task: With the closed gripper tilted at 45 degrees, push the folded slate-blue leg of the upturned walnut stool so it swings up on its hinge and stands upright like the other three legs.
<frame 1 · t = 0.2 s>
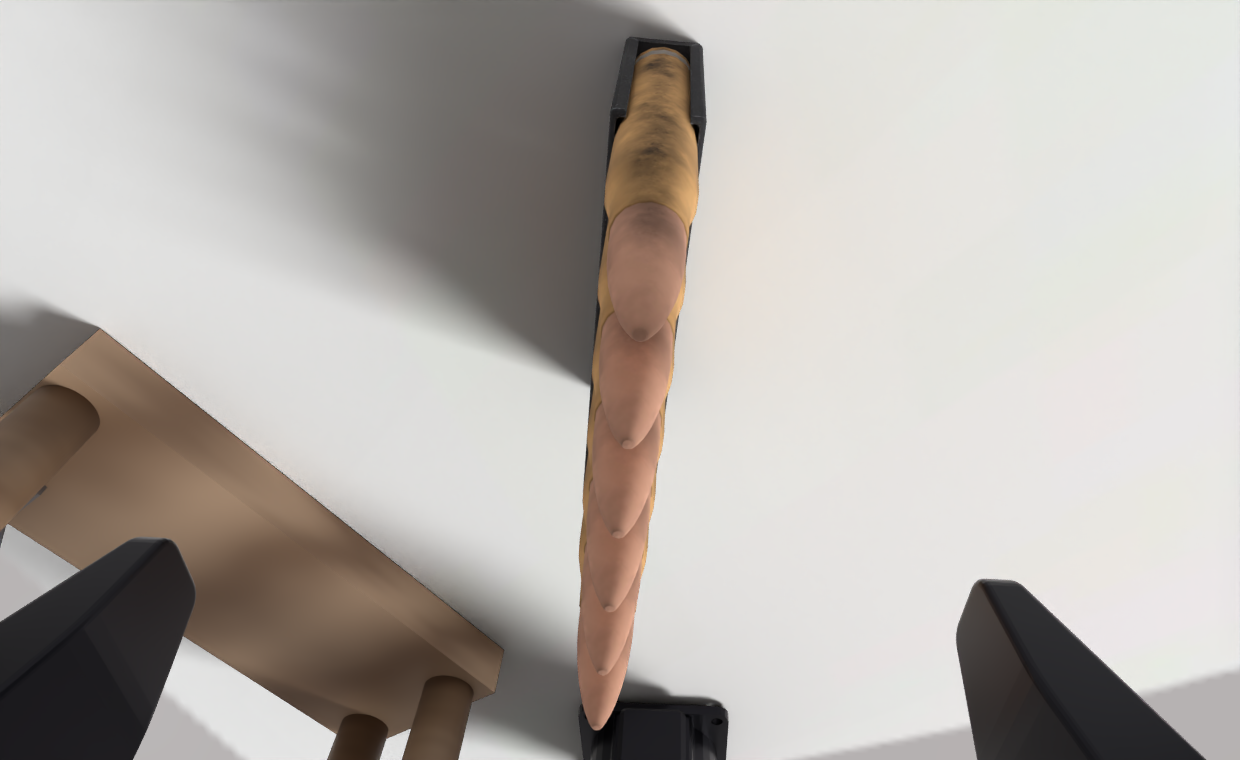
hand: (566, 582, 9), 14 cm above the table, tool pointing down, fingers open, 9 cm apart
ammunition clip: (643, 238, 22), on the table
stool: (262, 553, 31), on the table
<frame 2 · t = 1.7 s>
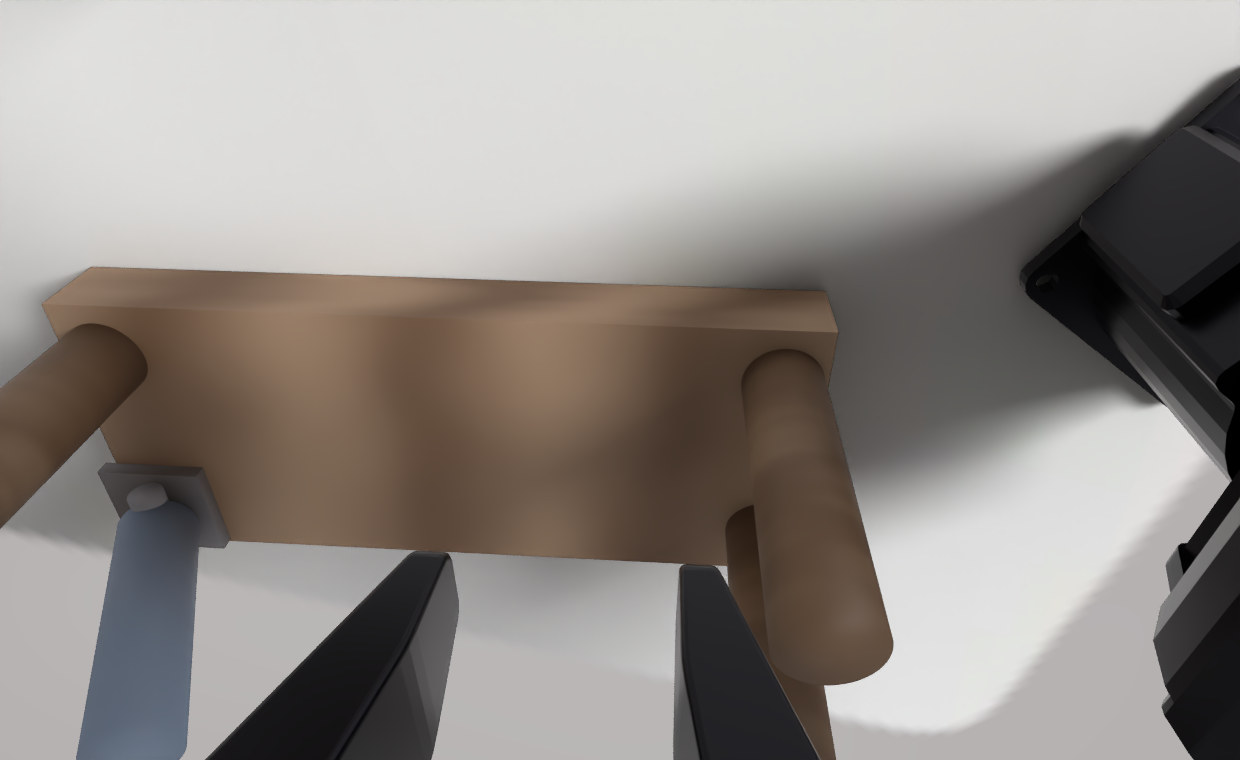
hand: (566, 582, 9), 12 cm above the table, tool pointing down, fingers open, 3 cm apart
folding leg: (149, 616, 20), point 6 cm above the table, hinge at -25.0°
stool: (466, 403, 23), on the table
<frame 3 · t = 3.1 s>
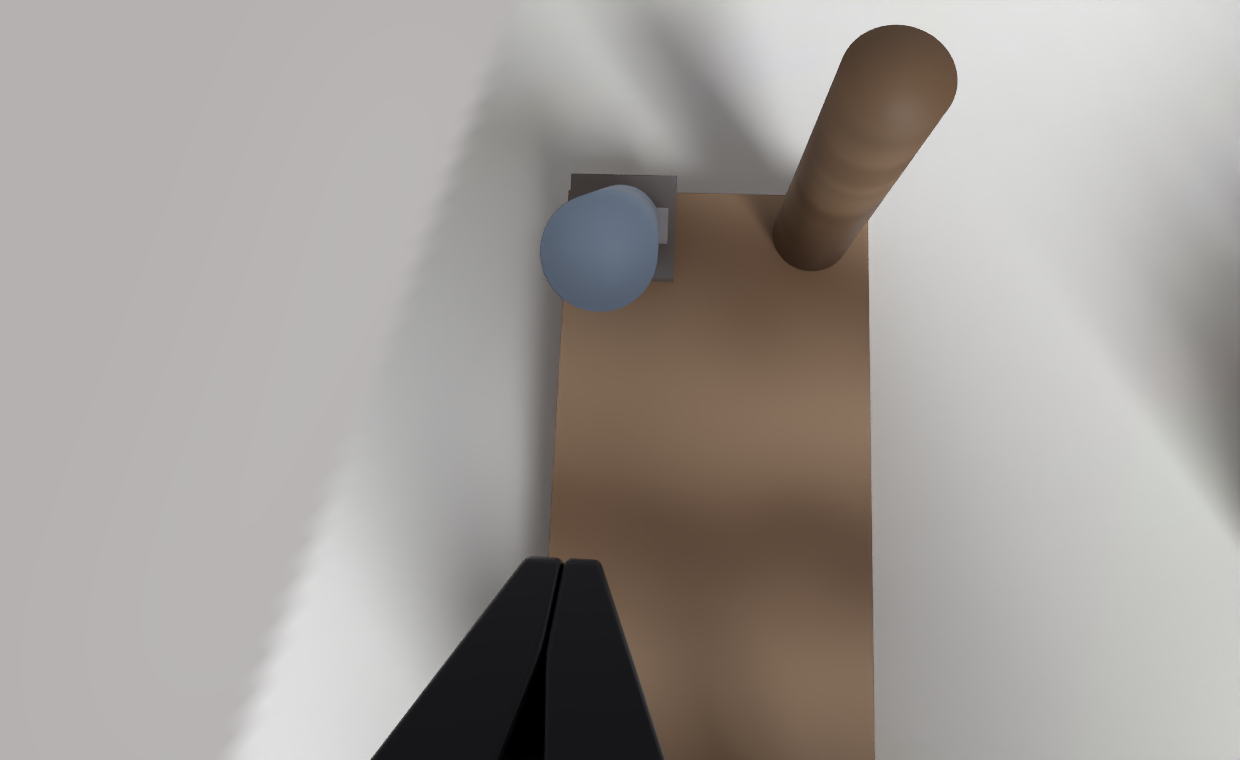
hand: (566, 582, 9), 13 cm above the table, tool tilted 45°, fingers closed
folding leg: (612, 235, 17), point 6 cm above the table, hinge at -25.0°
stool: (703, 555, 22), on the table
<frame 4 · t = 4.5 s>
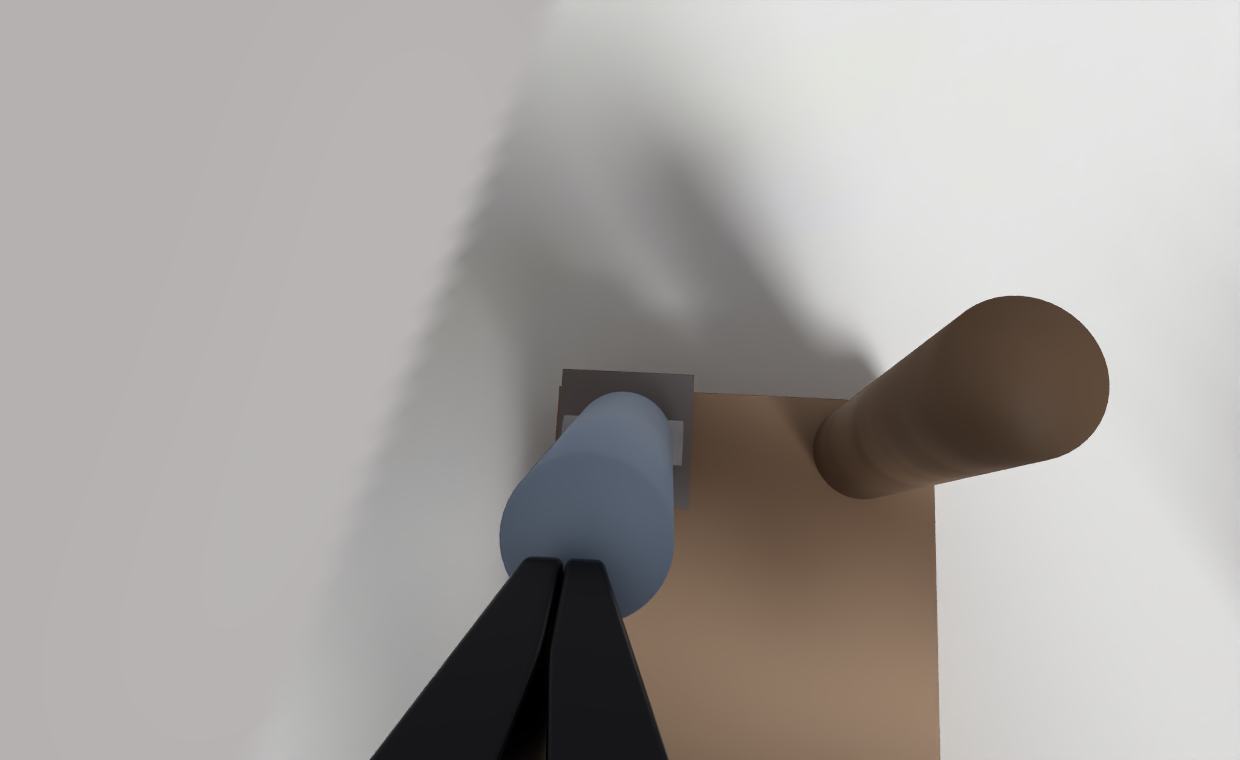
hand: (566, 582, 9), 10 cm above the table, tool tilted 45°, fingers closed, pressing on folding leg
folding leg: (610, 473, 13), point 6 cm above the table, hinge at -16.6°, touching gripper
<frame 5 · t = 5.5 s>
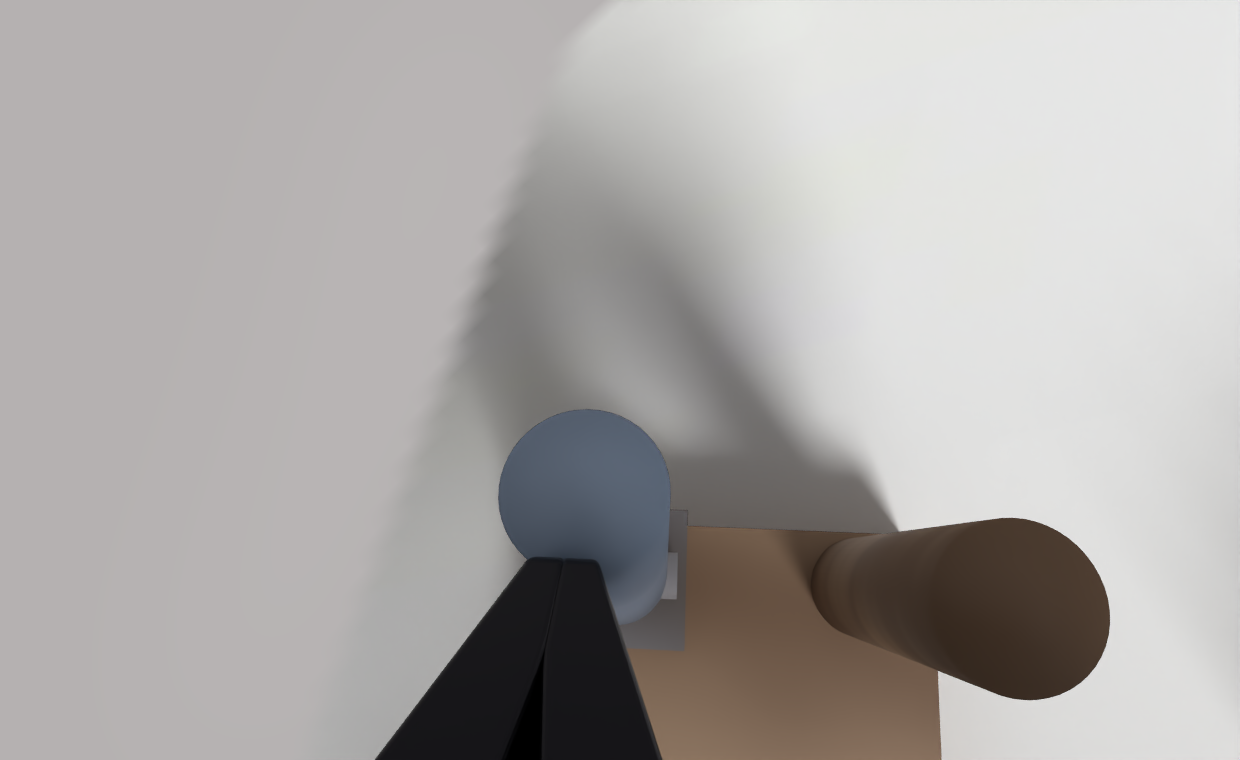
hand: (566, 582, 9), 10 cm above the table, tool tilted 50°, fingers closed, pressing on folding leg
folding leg: (605, 545, 13), point 6 cm above the table, hinge at 8.2°, touching gripper
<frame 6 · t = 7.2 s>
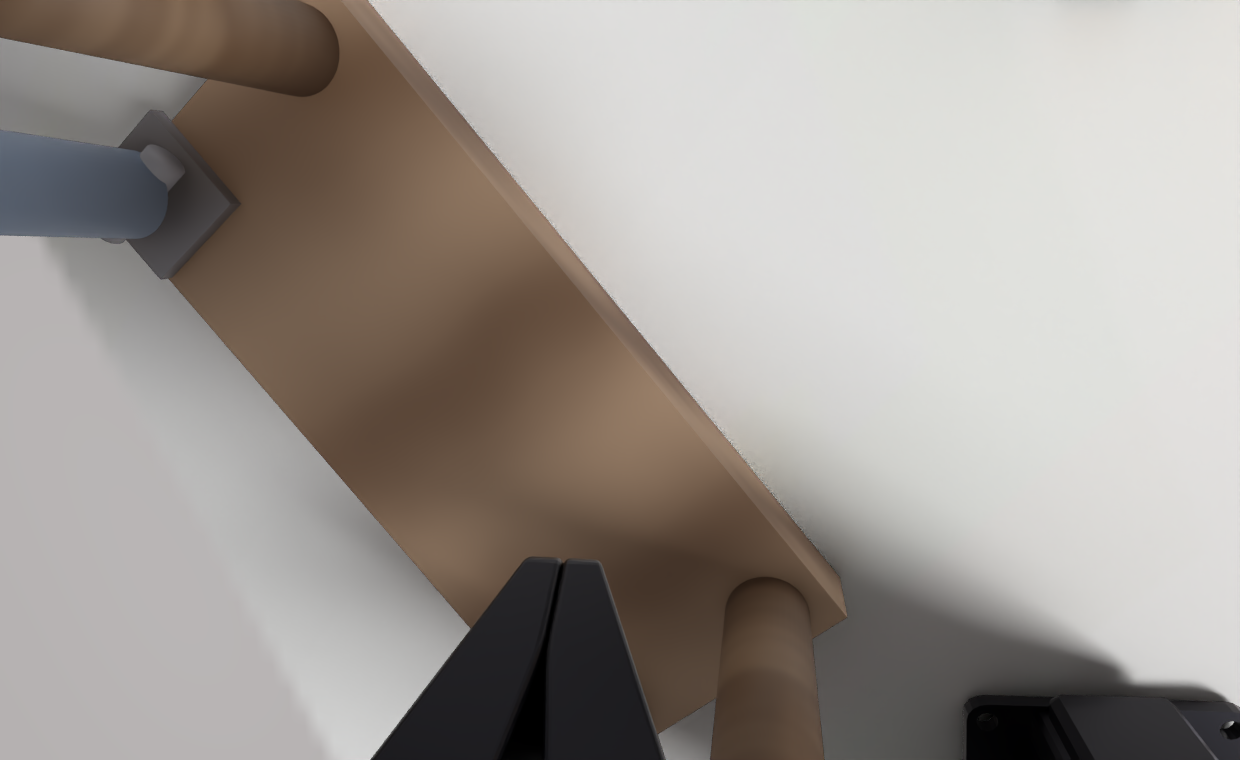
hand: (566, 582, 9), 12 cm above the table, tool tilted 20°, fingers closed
stool: (492, 384, 21), on the table
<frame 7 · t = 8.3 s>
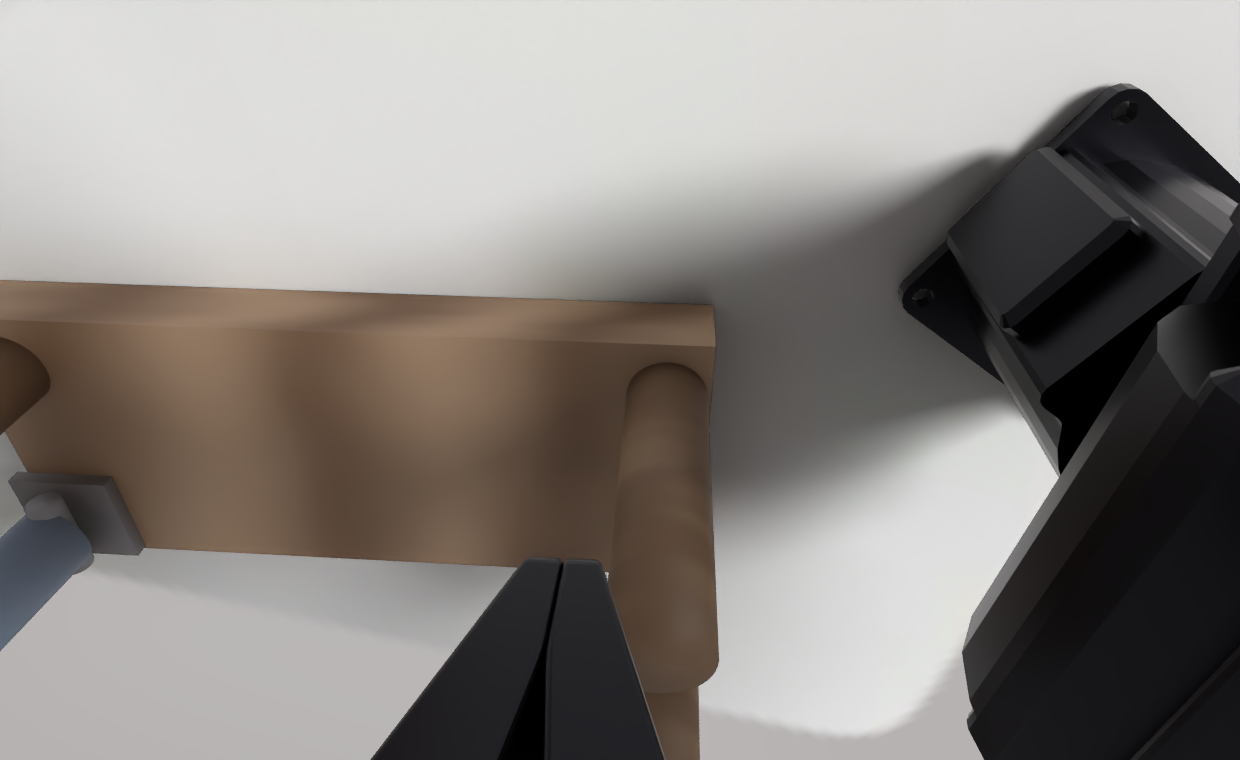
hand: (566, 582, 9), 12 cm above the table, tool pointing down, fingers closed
stool: (373, 413, 23), on the table
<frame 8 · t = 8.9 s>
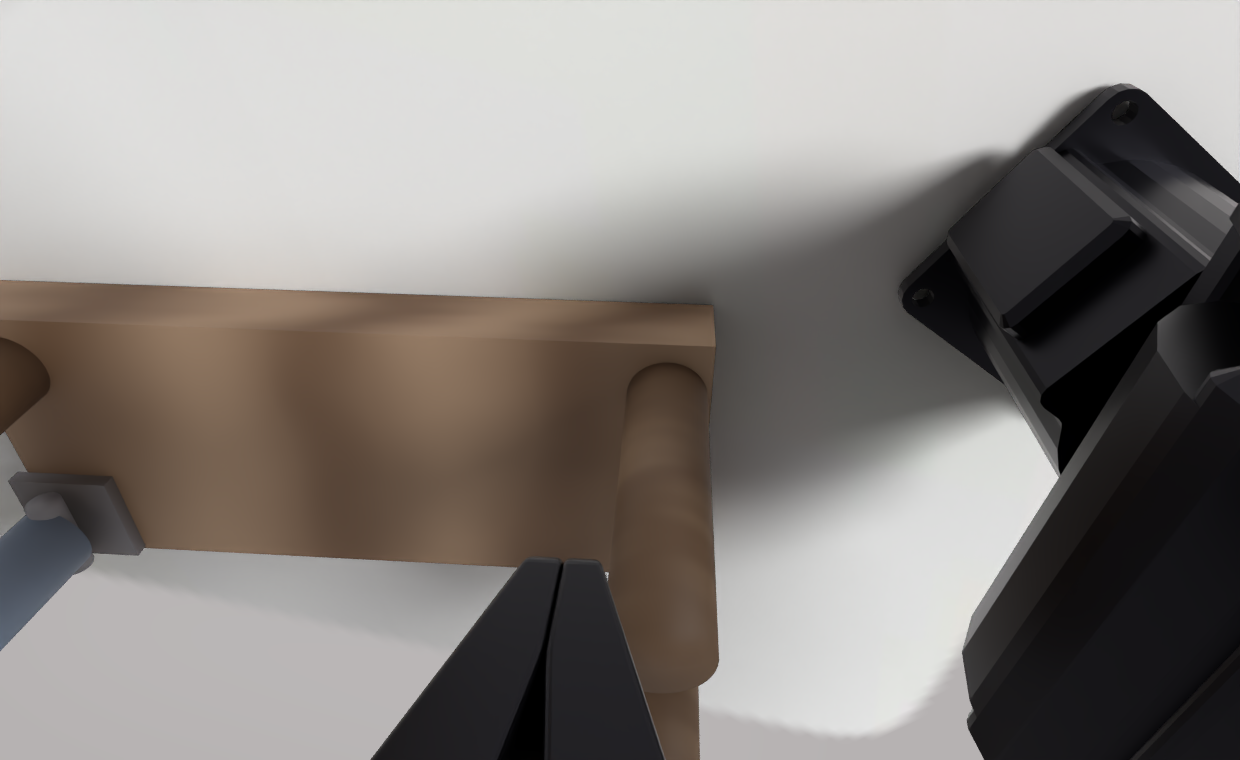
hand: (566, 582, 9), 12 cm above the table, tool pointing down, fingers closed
stool: (373, 413, 23), on the table
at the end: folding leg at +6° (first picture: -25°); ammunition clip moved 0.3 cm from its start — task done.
